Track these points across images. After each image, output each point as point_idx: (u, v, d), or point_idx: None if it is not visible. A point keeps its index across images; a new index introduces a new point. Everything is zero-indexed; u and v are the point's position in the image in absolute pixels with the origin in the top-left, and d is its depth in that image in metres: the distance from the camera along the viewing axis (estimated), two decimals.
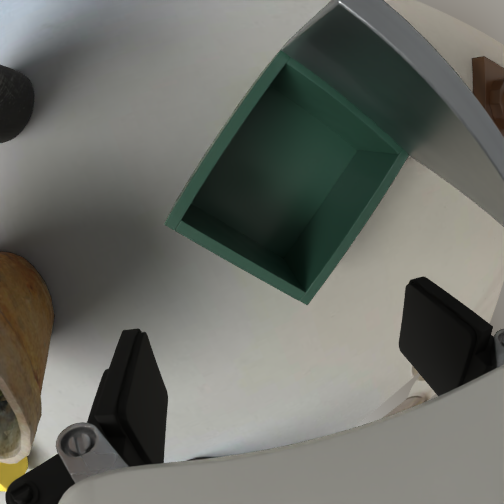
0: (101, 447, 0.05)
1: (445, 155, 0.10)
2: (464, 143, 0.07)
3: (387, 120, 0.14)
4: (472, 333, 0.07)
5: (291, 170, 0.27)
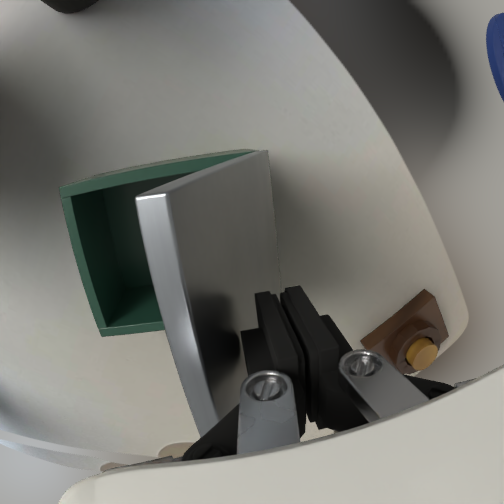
0: (285, 401, 0.06)
1: None
2: None
3: None
4: (314, 351, 0.08)
5: None
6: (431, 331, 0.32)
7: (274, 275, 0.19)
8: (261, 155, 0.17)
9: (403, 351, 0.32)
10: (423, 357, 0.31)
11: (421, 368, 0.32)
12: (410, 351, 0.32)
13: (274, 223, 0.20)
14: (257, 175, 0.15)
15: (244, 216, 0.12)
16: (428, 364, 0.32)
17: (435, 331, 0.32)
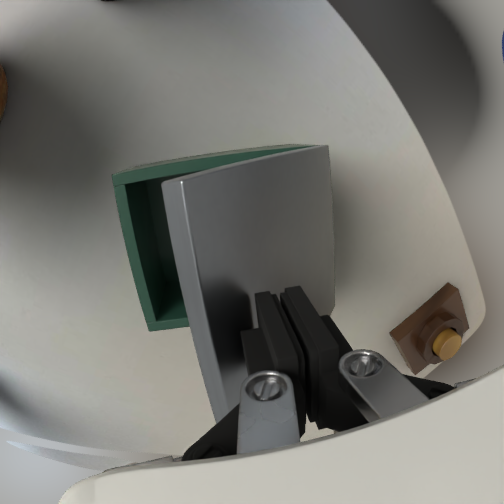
0: (285, 401, 0.06)
1: None
2: None
3: None
4: (314, 351, 0.08)
5: None
6: (455, 322, 0.32)
7: (325, 265, 0.20)
8: (317, 150, 0.17)
9: (430, 341, 0.33)
10: (448, 347, 0.32)
11: (446, 358, 0.32)
12: (436, 341, 0.33)
13: (331, 215, 0.21)
14: (308, 168, 0.16)
15: (283, 205, 0.13)
16: (452, 354, 0.32)
17: (459, 322, 0.32)
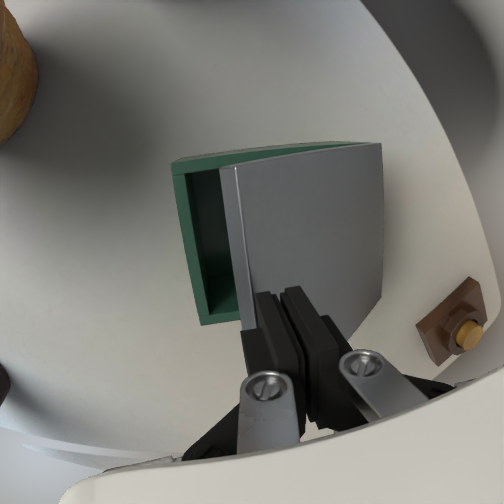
0: (285, 401, 0.06)
1: None
2: None
3: None
4: (314, 351, 0.08)
5: None
6: (477, 314, 0.33)
7: (372, 255, 0.20)
8: (368, 146, 0.18)
9: (455, 333, 0.33)
10: (471, 338, 0.32)
11: (469, 348, 0.33)
12: (460, 333, 0.33)
13: (382, 209, 0.21)
14: (358, 163, 0.17)
15: (330, 194, 0.15)
16: (474, 345, 0.33)
17: (480, 314, 0.33)
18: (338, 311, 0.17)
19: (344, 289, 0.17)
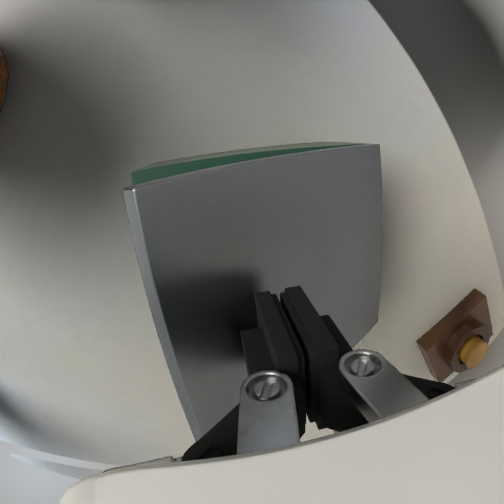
0: (285, 401, 0.06)
1: None
2: None
3: None
4: (314, 351, 0.08)
5: None
6: (483, 329, 0.30)
7: (364, 277, 0.17)
8: (359, 149, 0.15)
9: (458, 350, 0.30)
10: (476, 355, 0.29)
11: (473, 366, 0.29)
12: (464, 350, 0.30)
13: (379, 223, 0.18)
14: (342, 170, 0.14)
15: (294, 210, 0.12)
16: (479, 362, 0.30)
17: (486, 329, 0.30)
18: None
19: None
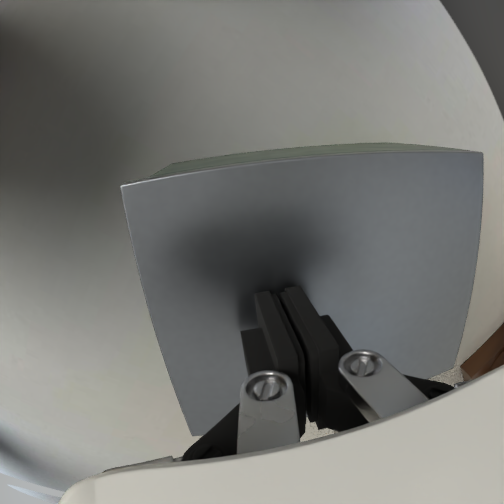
0: (285, 401, 0.06)
1: None
2: None
3: None
4: (314, 351, 0.08)
5: None
6: None
7: (434, 313, 0.13)
8: (441, 155, 0.11)
9: None
10: None
11: None
12: None
13: (472, 253, 0.12)
14: (406, 179, 0.11)
15: (313, 219, 0.11)
16: None
17: None
18: None
19: None
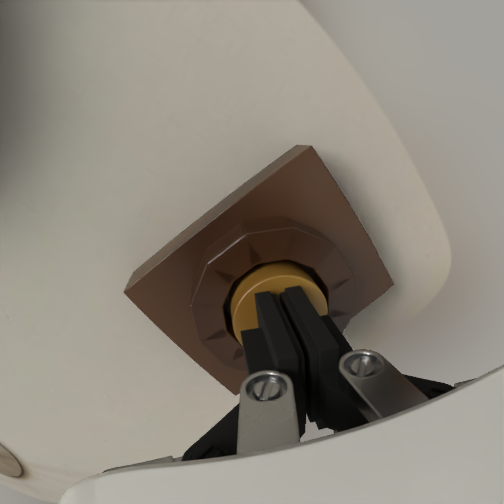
0: (285, 401, 0.06)
1: None
2: None
3: None
4: (314, 351, 0.08)
5: None
6: (304, 244, 0.12)
7: None
8: None
9: (208, 300, 0.12)
10: None
11: None
12: (232, 295, 0.12)
13: None
14: None
15: None
16: None
17: (322, 247, 0.12)
18: None
19: None
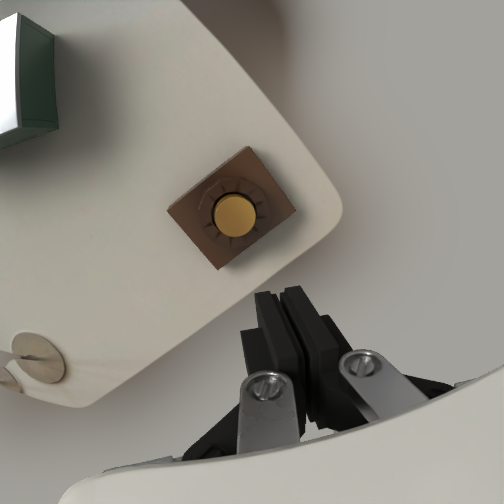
0: (285, 401, 0.06)
1: None
2: None
3: None
4: (314, 350, 0.08)
5: None
6: (243, 184, 0.29)
7: None
8: None
9: (205, 208, 0.29)
10: (230, 215, 0.28)
11: (234, 233, 0.29)
12: (215, 209, 0.29)
13: (11, 55, 0.17)
14: None
15: None
16: (244, 230, 0.29)
17: (251, 186, 0.29)
18: None
19: None
